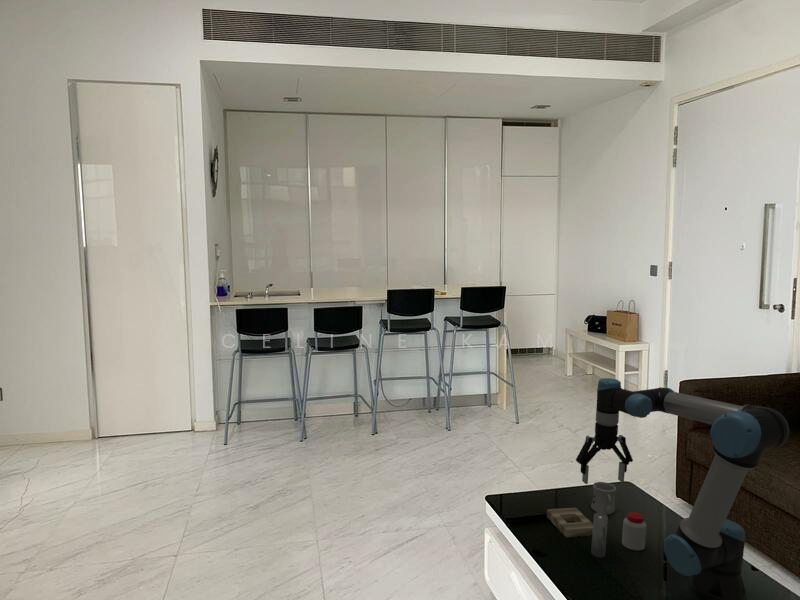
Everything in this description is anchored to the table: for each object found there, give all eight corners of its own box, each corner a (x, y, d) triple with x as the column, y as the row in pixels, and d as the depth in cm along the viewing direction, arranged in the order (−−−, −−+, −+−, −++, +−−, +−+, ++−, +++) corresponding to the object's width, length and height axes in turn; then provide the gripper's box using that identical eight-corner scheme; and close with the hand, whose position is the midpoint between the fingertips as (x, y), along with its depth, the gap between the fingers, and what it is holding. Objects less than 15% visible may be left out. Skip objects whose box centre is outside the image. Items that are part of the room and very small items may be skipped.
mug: (588, 504, 244) (589, 481, 243) (610, 505, 244) (612, 482, 243) (597, 518, 232) (598, 494, 231) (620, 519, 232) (622, 495, 230)
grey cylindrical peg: (607, 557, 204) (610, 518, 203) (595, 558, 203) (598, 519, 202) (600, 549, 209) (603, 511, 207) (588, 550, 208) (591, 512, 206)
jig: (596, 535, 219) (596, 527, 218) (565, 537, 216) (566, 529, 216) (575, 514, 234) (575, 507, 234) (546, 516, 232) (547, 509, 232)
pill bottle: (646, 551, 208) (649, 521, 207) (623, 548, 210) (625, 519, 209) (642, 540, 216) (644, 511, 215) (620, 538, 217) (622, 509, 216)
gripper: (633, 418, 213) (629, 476, 215) (568, 420, 209) (565, 478, 211) (645, 425, 206) (641, 484, 208) (578, 427, 202) (574, 487, 204)
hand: (603, 481), depth 209 cm, fingers open, 13 cm apart
